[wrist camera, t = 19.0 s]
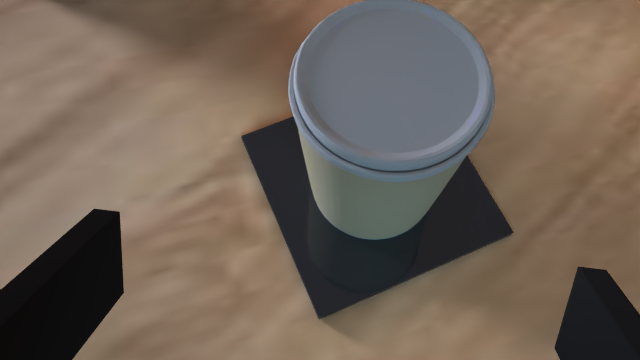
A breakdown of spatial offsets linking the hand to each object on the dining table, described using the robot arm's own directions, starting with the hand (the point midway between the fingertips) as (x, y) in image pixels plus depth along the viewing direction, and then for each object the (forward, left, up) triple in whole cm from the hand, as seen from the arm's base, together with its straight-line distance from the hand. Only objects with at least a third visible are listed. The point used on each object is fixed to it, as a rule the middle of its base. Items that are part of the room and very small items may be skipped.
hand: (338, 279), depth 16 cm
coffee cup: (-8, +7, -17) cm, 20 cm away
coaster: (-8, +7, -17) cm, 20 cm away
